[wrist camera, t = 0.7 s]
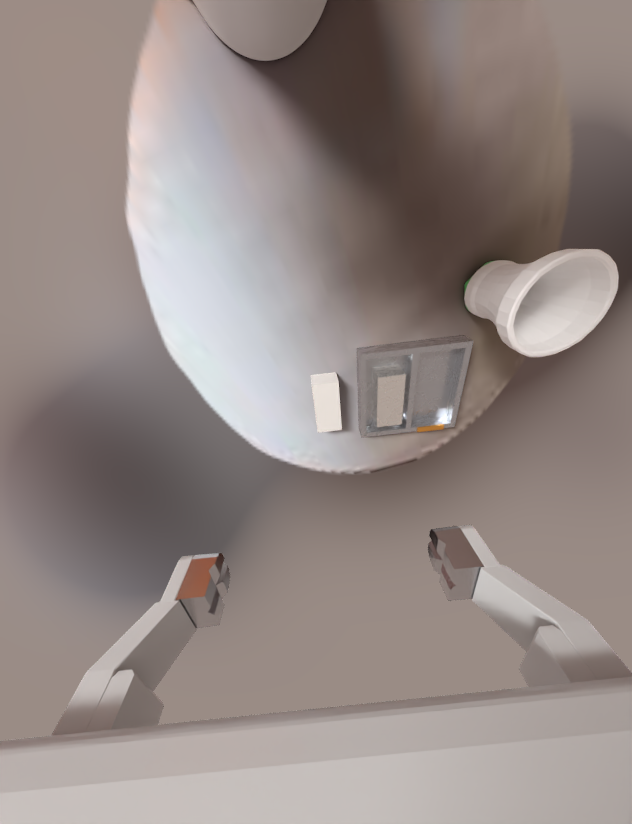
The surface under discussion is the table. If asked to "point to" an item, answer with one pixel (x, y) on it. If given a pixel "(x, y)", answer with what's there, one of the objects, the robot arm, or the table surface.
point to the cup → (544, 298)
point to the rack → (411, 385)
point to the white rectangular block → (326, 402)
